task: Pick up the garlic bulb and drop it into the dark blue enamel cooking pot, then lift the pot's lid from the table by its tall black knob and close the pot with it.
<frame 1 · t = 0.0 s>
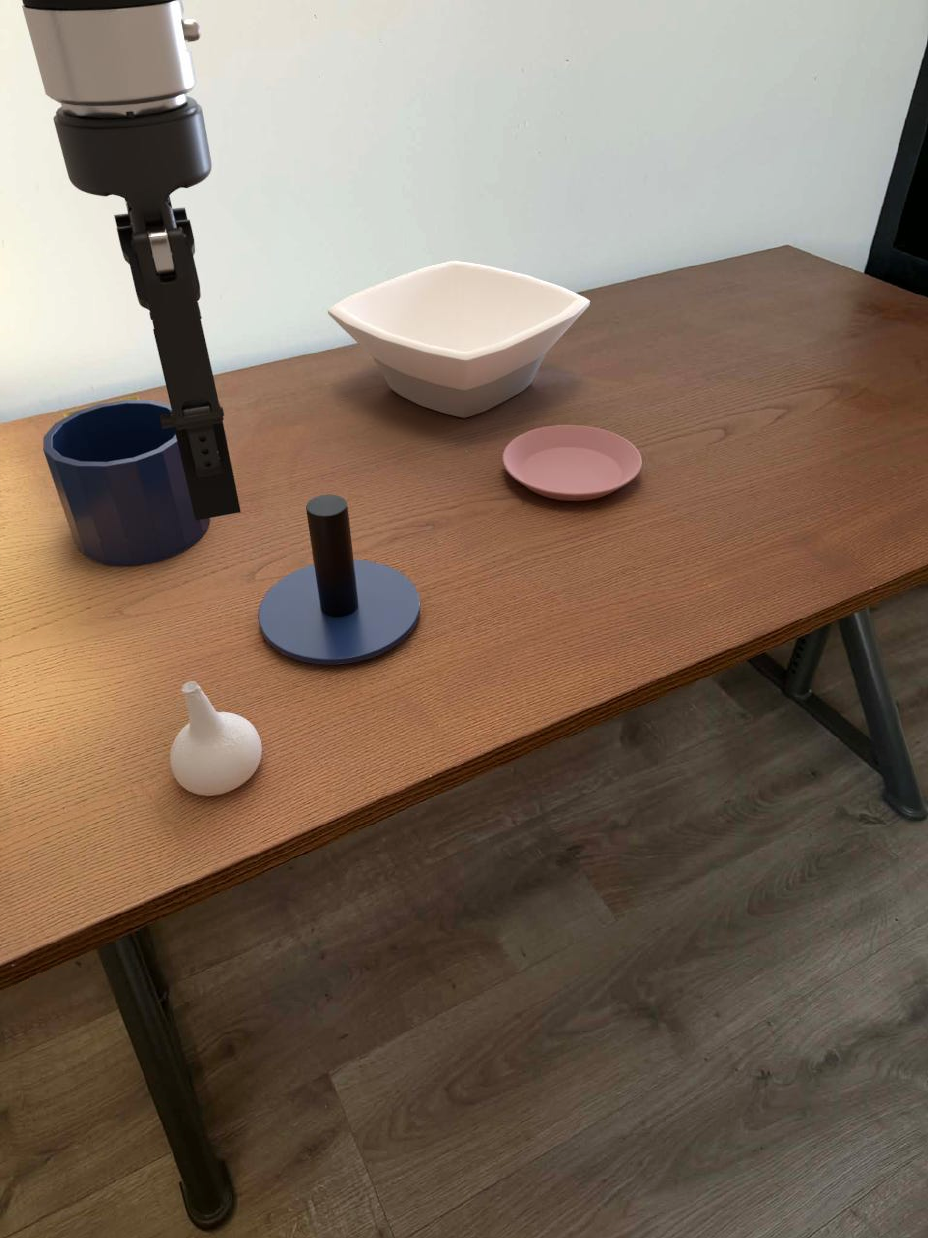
hand: (204, 461, 62), 19 cm above the table, tool pointing down, fingers open, 13 cm apart
bowl: (460, 387, 114), on the table
pot: (143, 528, 91), on the table
yellow square tray: (113, 436, 106), on the table
lid: (340, 611, 79), point 1 cm above the table
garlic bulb: (220, 771, 67), on the table
plate: (570, 475, 98), on the table
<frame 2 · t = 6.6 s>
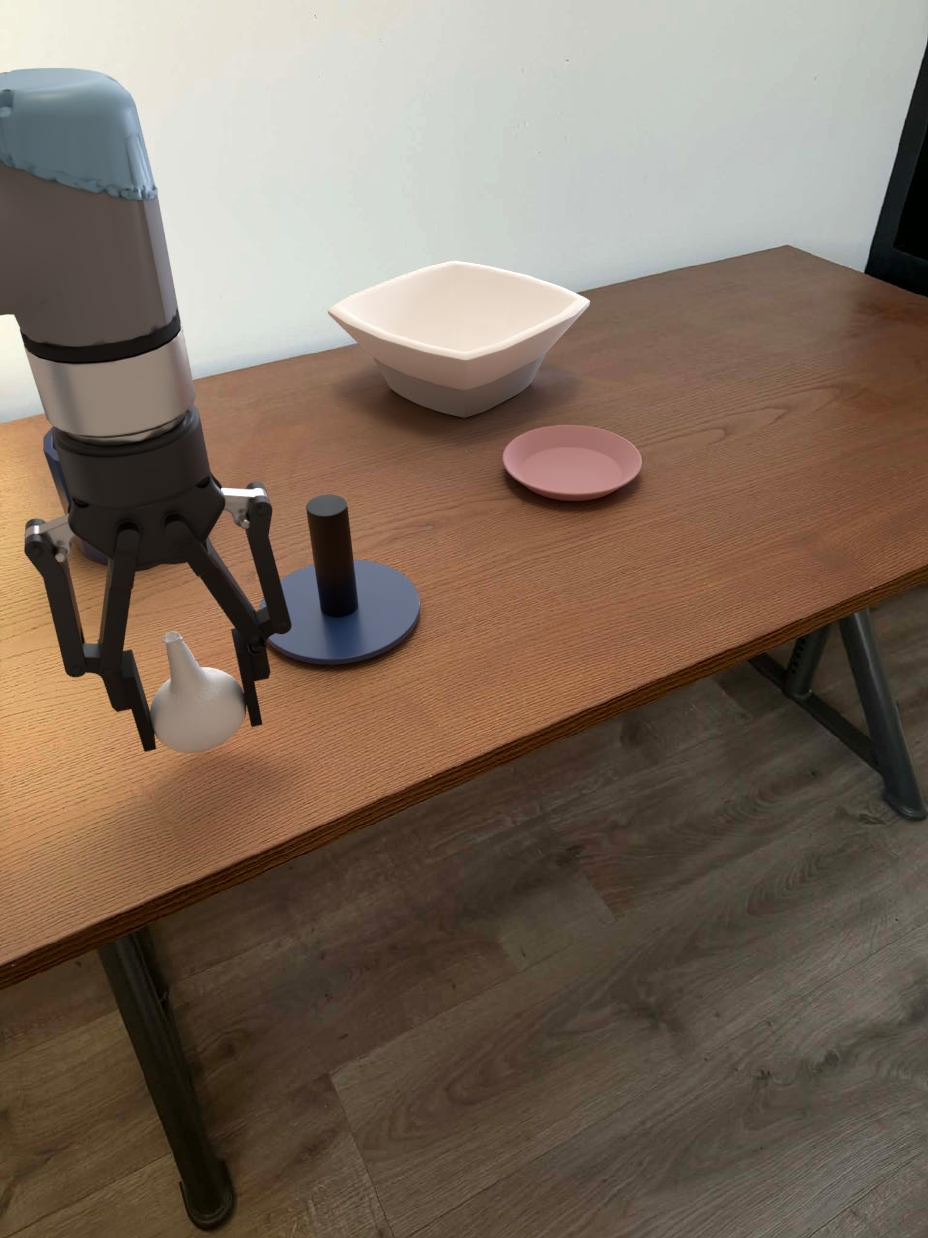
hand: (202, 724, 63), 5 cm above the table, tool pointing down, fingers closed on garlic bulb, 6 cm apart
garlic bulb: (203, 729, 64), point 4 cm above the table, touching gripper
everything else where it was.
when the fingers open (7 cm above the table, at t = 13.5 s): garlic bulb stays where it is, resting on pot.
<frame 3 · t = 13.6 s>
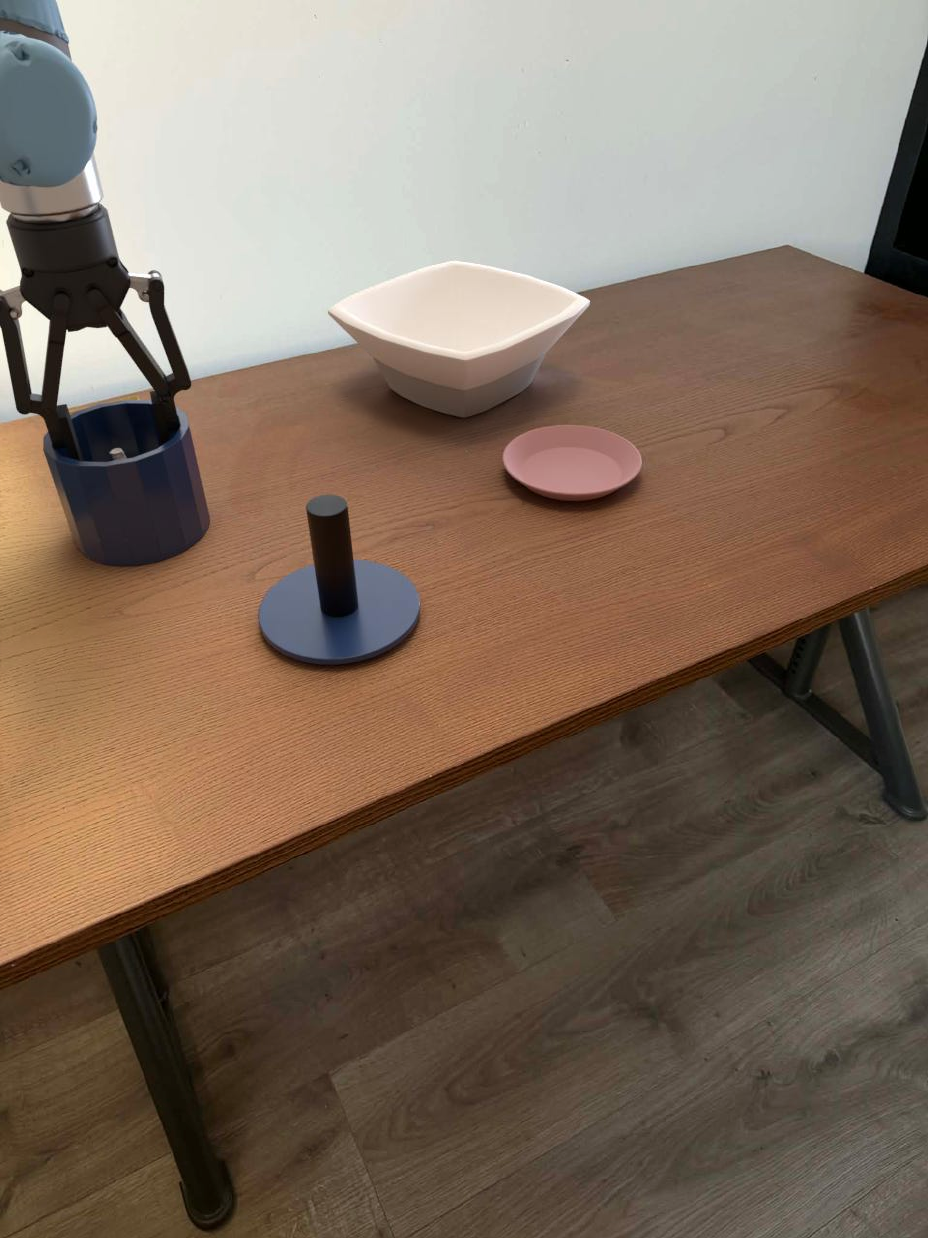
hand: (126, 468, 87), 7 cm above the table, tool pointing down, fingers open, 7 cm apart
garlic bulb: (143, 526, 91), resting on pot
everything else where it was.
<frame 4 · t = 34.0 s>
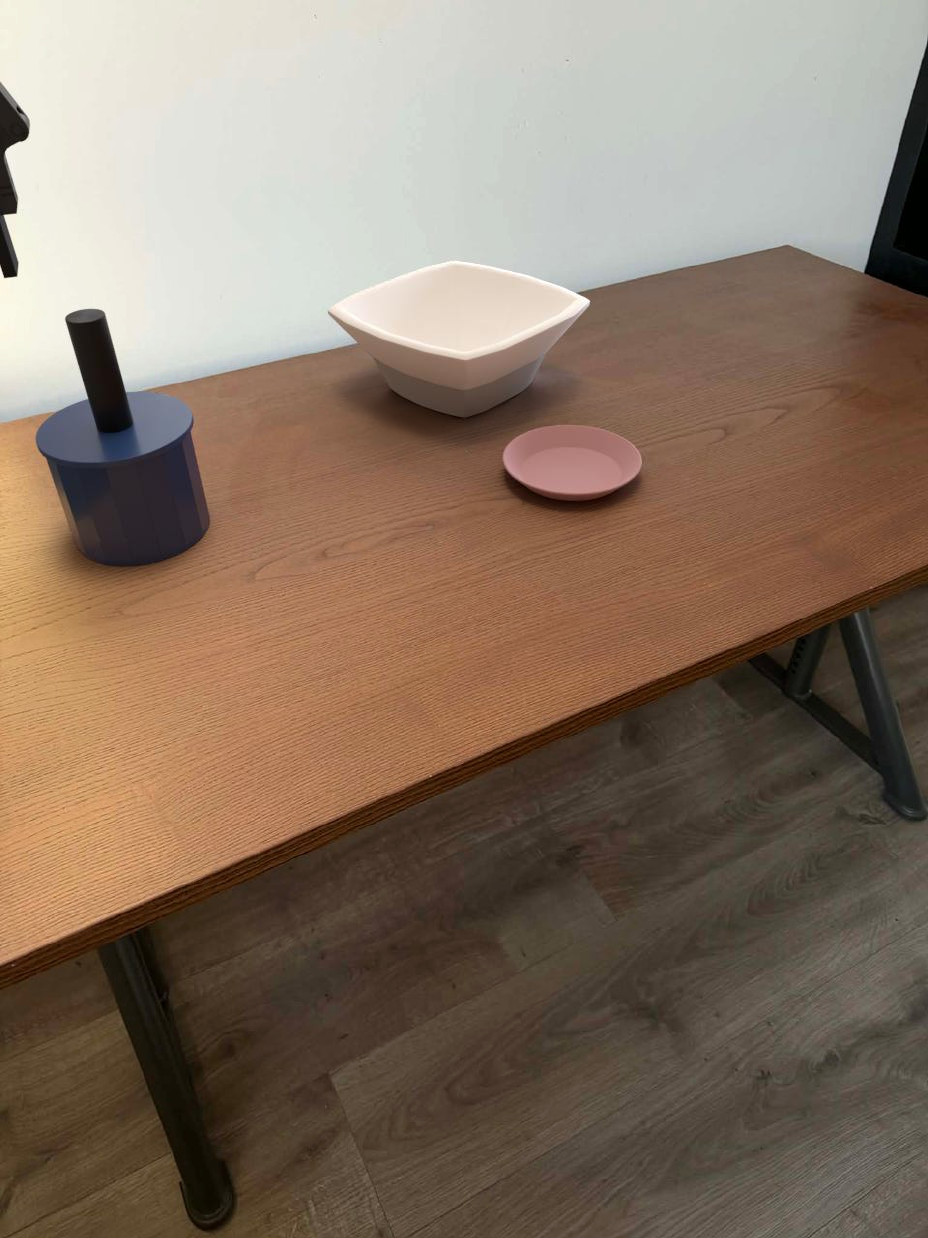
lid: (116, 430, 84), point 10 cm above the table, touching pot
everything else where it was.
at the end: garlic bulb inside the target area in the pot (0.1 cm from its centre), point 0.3 cm above the pot's base; lid 0.0 cm off-centre on the pot, point 10.5 cm above the pot's base; lid tilted 0° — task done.
